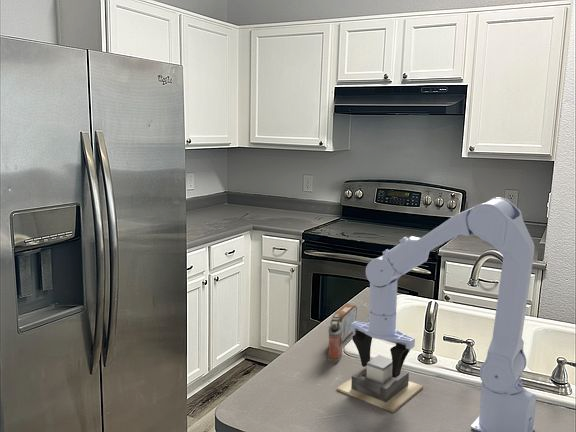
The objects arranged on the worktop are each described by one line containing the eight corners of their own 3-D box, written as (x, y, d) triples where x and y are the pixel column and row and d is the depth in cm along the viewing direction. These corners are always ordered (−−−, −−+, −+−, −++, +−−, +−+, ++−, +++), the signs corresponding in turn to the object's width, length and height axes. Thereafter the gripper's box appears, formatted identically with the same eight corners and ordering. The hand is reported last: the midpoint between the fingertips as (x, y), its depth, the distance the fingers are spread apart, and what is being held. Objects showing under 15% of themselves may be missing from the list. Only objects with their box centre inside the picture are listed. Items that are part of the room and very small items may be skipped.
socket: (423, 388, 118) (423, 373, 117) (393, 412, 108) (394, 396, 108) (368, 368, 127) (368, 354, 126) (336, 389, 117) (336, 375, 117)
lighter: (340, 363, 130) (340, 324, 128) (326, 362, 130) (326, 323, 128) (343, 349, 137) (344, 312, 135) (330, 348, 138) (331, 311, 136)
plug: (393, 385, 118) (394, 360, 117) (382, 394, 115) (383, 368, 113) (378, 379, 121) (378, 354, 120) (366, 388, 117) (366, 362, 116)
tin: (347, 326, 152) (348, 298, 150) (358, 328, 151) (359, 300, 149) (327, 347, 139) (327, 316, 137) (338, 349, 138) (339, 318, 136)
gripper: (422, 313, 113) (419, 373, 115) (363, 298, 122) (362, 354, 125) (406, 323, 107) (403, 386, 110) (346, 307, 117) (345, 365, 119)
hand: (380, 370), depth 117 cm, fingers open, 7 cm apart
